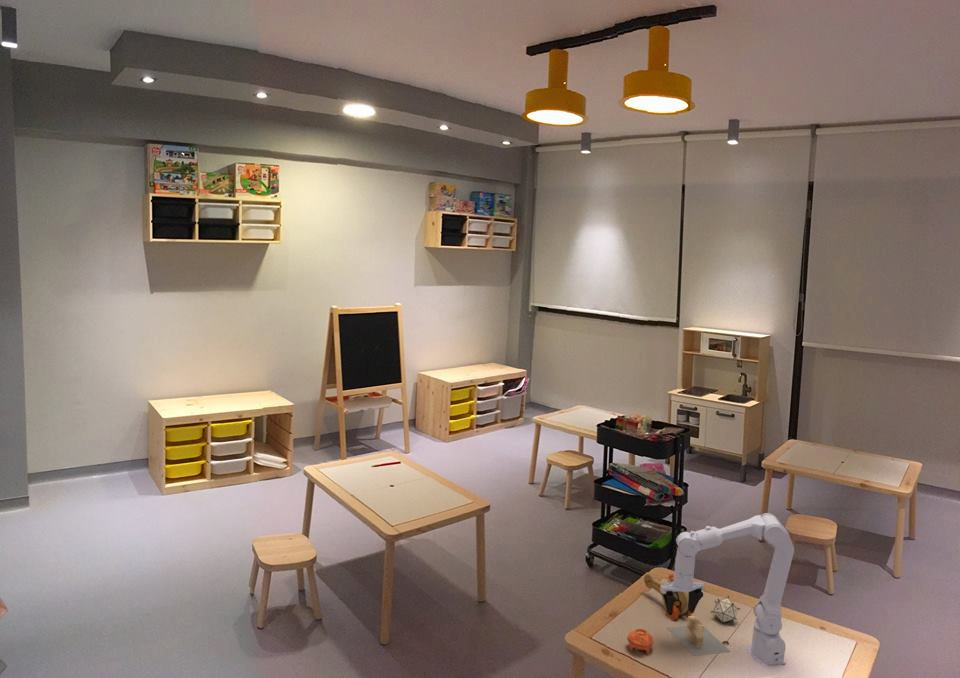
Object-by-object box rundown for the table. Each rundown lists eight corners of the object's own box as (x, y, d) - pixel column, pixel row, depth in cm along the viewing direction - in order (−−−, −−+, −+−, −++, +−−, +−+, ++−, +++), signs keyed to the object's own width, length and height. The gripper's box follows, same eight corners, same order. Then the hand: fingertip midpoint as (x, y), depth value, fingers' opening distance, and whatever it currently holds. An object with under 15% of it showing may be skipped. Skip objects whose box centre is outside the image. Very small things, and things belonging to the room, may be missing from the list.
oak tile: (702, 646, 217) (704, 625, 216) (696, 647, 216) (698, 626, 216) (691, 636, 223) (694, 615, 222) (686, 636, 222) (688, 616, 221)
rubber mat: (730, 653, 215) (730, 651, 215) (693, 657, 212) (693, 656, 212) (701, 625, 231) (701, 624, 230) (666, 629, 227) (666, 627, 227)
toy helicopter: (676, 624, 230) (680, 585, 228) (635, 595, 248) (638, 559, 247) (694, 619, 234) (698, 581, 232) (652, 591, 252) (656, 555, 250)
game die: (729, 633, 233) (746, 620, 227) (706, 623, 233) (722, 610, 227) (727, 610, 240) (744, 596, 234) (705, 600, 240) (721, 586, 234)
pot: (635, 658, 209) (634, 635, 210) (623, 650, 216) (622, 627, 217) (659, 655, 211) (658, 632, 212) (646, 646, 219) (645, 624, 219)
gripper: (697, 564, 221) (693, 604, 223) (656, 567, 218) (652, 607, 219) (710, 574, 215) (706, 615, 216) (668, 577, 211) (664, 619, 213)
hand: (680, 612), depth 217 cm, fingers open, 7 cm apart
